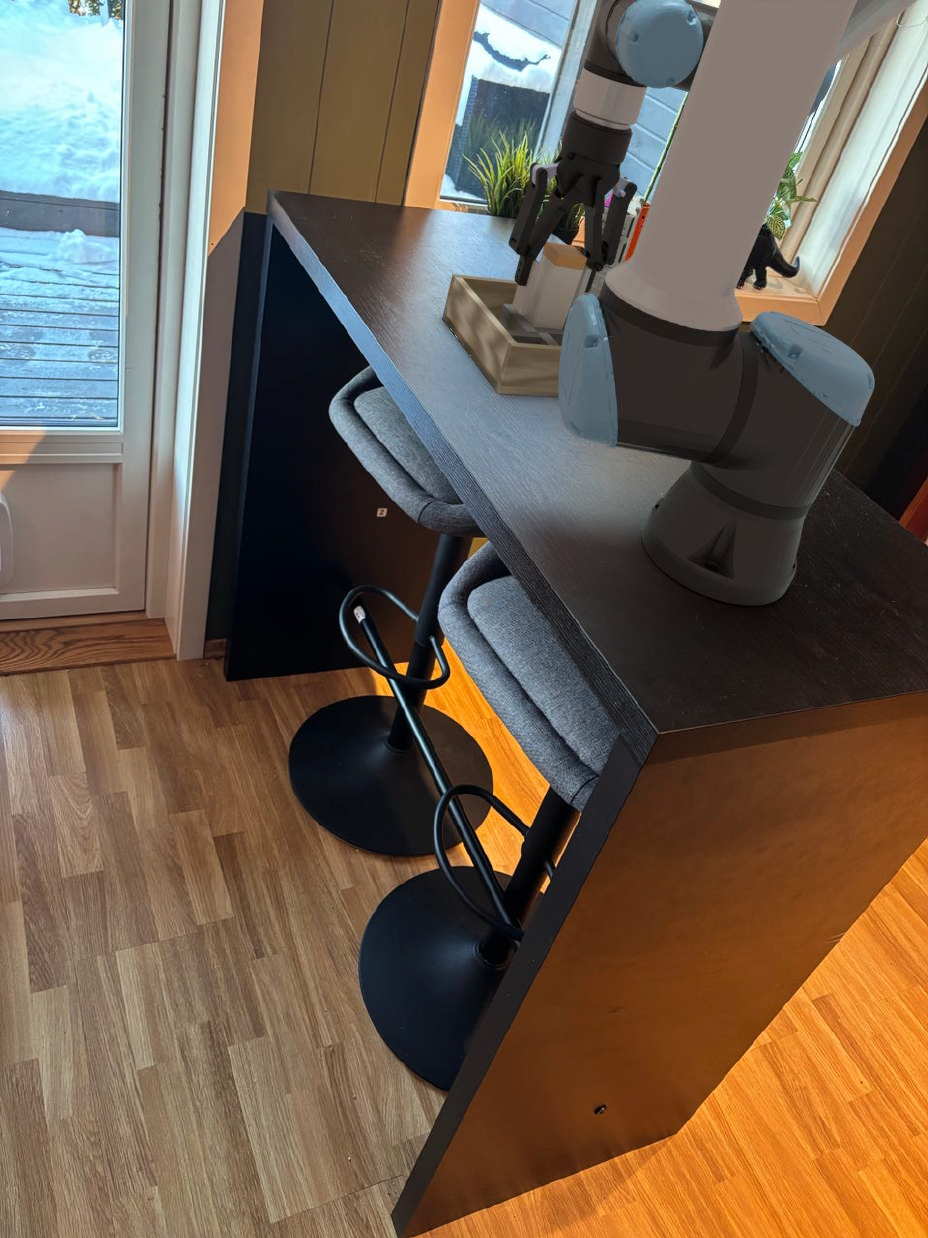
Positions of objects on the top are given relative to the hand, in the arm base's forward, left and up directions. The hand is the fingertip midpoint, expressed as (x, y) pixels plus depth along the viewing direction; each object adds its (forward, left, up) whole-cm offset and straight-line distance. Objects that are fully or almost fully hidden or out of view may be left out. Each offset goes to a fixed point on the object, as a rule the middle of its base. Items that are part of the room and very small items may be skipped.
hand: (544, 312), depth 122 cm
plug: (0, 0, -4) cm, 4 cm away
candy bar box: (+13, -15, -5) cm, 21 cm away
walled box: (-3, +1, -5) cm, 6 cm away
